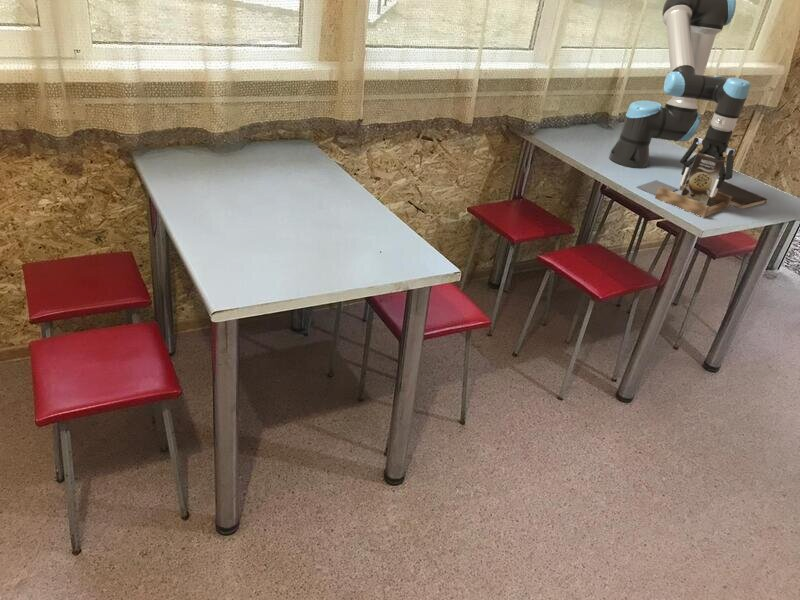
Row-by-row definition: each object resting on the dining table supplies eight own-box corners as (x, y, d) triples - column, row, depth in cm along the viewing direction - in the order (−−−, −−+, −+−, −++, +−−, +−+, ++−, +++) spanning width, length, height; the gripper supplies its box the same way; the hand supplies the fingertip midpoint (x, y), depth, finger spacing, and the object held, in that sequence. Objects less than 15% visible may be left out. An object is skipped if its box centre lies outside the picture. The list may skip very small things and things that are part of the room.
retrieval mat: (636, 187, 236) (636, 186, 235) (656, 181, 244) (656, 180, 244) (658, 196, 230) (658, 195, 230) (677, 189, 239) (678, 188, 238)
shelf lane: (655, 198, 229) (658, 187, 227) (681, 188, 240) (685, 178, 238) (702, 218, 218) (707, 207, 216) (728, 207, 229) (732, 196, 227)
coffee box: (679, 198, 227) (695, 154, 219) (681, 193, 232) (698, 149, 224) (706, 206, 224) (724, 161, 216) (708, 200, 229) (725, 156, 221)
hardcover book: (740, 210, 230) (743, 204, 229) (685, 186, 245) (687, 180, 244) (765, 204, 238) (767, 198, 237) (710, 181, 254) (712, 175, 252)
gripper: (683, 118, 219) (662, 180, 231) (750, 140, 206) (723, 205, 217) (694, 116, 224) (672, 176, 236) (760, 137, 210) (733, 200, 222)
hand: (697, 190), depth 226 cm, fingers closed on coffee box, 10 cm apart
